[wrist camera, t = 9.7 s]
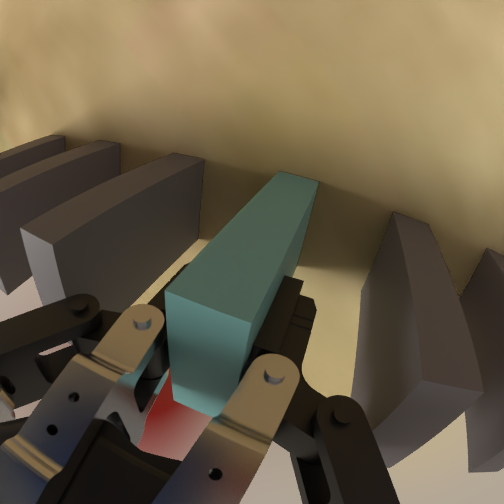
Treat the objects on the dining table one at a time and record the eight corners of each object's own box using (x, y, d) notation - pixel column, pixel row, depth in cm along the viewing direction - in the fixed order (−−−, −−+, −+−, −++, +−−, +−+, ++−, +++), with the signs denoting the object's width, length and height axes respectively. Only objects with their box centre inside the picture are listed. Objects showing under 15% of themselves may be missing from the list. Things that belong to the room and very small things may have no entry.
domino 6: (486, 248, 12) (559, 401, 4) (510, 258, 12) (582, 403, 4) (447, 317, 15) (468, 472, 7) (470, 325, 15) (498, 471, 6)
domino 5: (393, 211, 14) (421, 380, 5) (428, 224, 13) (483, 392, 5) (361, 291, 16) (339, 459, 8) (392, 301, 16) (389, 467, 8)
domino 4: (279, 170, 15) (164, 290, 6) (318, 181, 14) (251, 322, 6) (262, 255, 17) (173, 400, 9) (296, 265, 17) (228, 423, 9)
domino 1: (50, 135, 18) (-58, 180, 10) (64, 136, 18) (-52, 184, 10) (55, 192, 21) (-41, 249, 13) (68, 197, 21) (-32, 258, 12)
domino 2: (98, 140, 17) (-34, 196, 9) (120, 143, 17) (-21, 203, 8) (101, 207, 20) (-9, 281, 12) (121, 214, 19) (7, 295, 11)
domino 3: (173, 152, 16) (20, 227, 8) (204, 159, 16) (52, 245, 7) (170, 230, 19) (53, 332, 10) (197, 239, 18) (85, 353, 10)
